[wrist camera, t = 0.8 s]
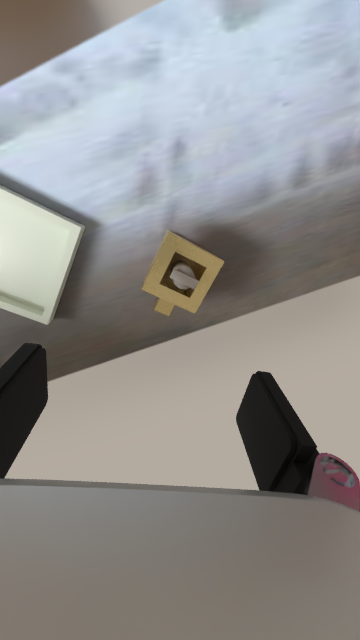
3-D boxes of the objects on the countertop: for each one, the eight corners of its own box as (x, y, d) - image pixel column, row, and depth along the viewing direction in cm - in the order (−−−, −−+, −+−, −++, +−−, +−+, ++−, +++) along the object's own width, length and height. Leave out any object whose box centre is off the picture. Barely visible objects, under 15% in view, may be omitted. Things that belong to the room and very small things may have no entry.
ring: (218, 256, 31) (224, 261, 28) (184, 317, 33) (187, 327, 31) (167, 229, 29) (168, 231, 26) (136, 296, 32) (134, 304, 29)
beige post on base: (185, 290, 36) (195, 313, 28) (148, 273, 34) (147, 292, 27) (206, 253, 34) (222, 266, 26) (167, 232, 33) (172, 240, 25)
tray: (53, 318, 36) (47, 325, 34) (-58, 277, 32) (-72, 281, 30) (85, 226, 31) (81, 227, 29) (-40, 165, 27) (-55, 161, 25)
